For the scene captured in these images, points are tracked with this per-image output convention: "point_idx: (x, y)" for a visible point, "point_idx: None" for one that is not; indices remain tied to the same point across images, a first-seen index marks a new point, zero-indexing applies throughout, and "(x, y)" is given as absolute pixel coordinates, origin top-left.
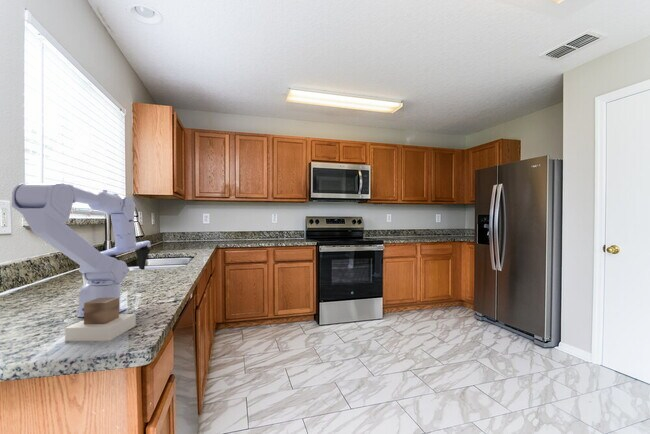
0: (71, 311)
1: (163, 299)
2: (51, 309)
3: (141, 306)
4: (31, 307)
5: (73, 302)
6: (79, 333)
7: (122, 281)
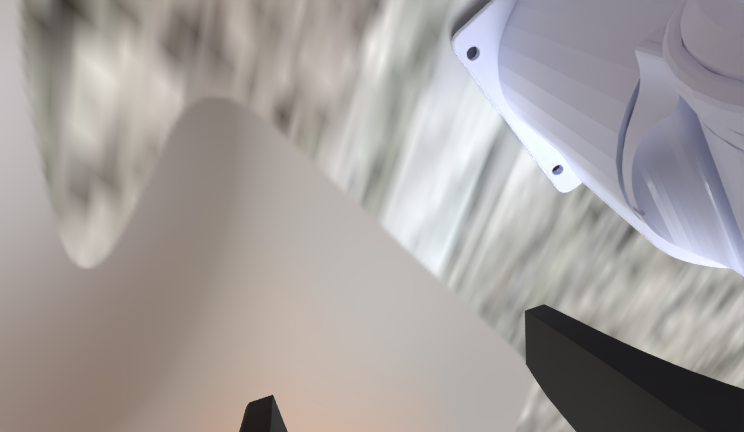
0: (641, 238)
1: (158, 146)
2: (657, 328)
3: (344, 49)
4: None
5: None
6: None
7: (646, 40)
